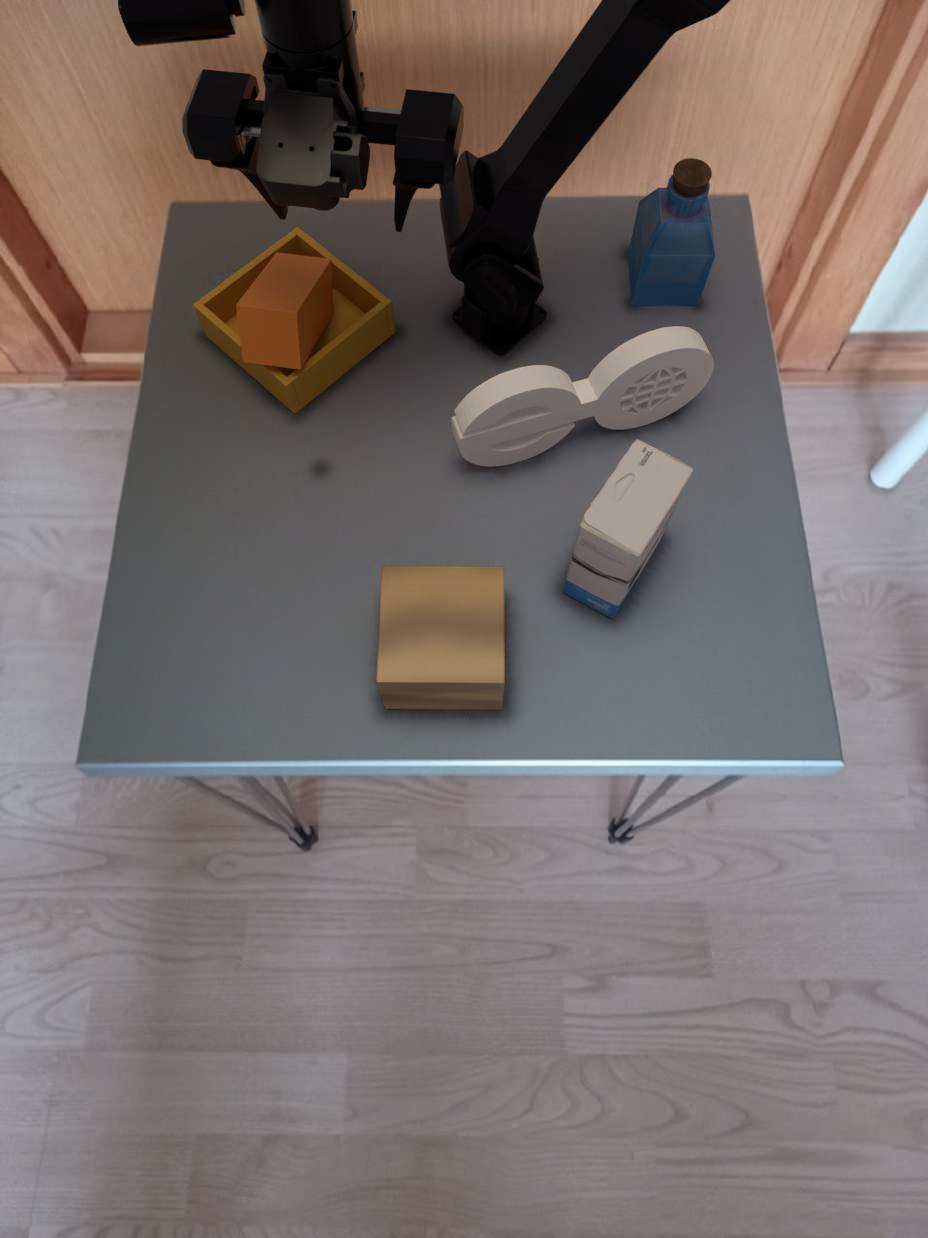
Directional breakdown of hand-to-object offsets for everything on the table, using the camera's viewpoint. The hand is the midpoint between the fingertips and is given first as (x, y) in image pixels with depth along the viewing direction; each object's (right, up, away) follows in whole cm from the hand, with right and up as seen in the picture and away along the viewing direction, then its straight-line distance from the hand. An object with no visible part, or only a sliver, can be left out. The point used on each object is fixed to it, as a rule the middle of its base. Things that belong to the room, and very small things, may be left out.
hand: (341, 221), depth 68 cm
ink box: (+22, -27, +4) cm, 35 cm away
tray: (-6, -5, +12) cm, 14 cm away
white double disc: (+19, -15, +8) cm, 26 cm away
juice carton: (-5, -1, +11) cm, 12 cm away
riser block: (+8, -34, +1) cm, 35 cm away
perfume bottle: (+28, +1, +14) cm, 32 cm away
